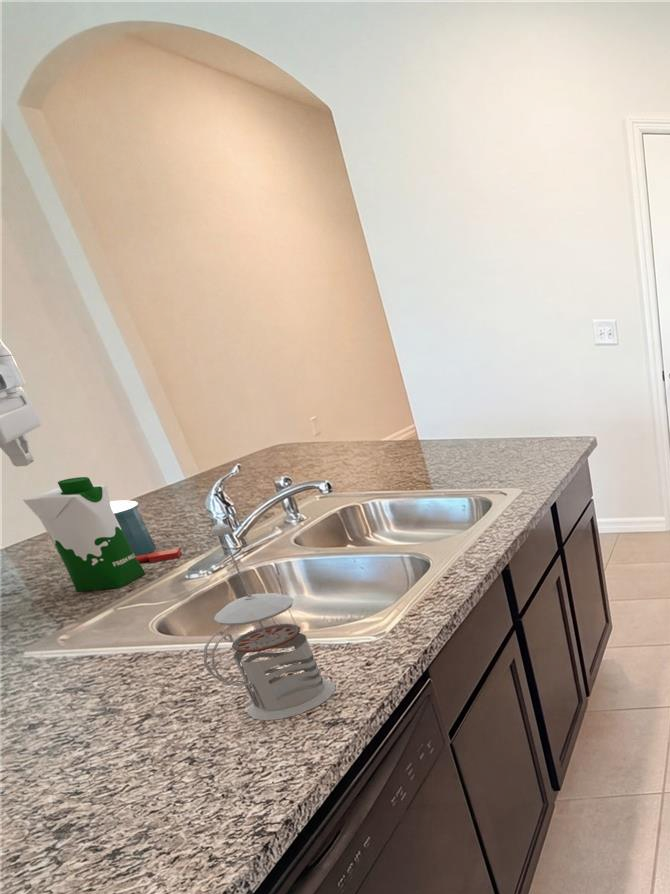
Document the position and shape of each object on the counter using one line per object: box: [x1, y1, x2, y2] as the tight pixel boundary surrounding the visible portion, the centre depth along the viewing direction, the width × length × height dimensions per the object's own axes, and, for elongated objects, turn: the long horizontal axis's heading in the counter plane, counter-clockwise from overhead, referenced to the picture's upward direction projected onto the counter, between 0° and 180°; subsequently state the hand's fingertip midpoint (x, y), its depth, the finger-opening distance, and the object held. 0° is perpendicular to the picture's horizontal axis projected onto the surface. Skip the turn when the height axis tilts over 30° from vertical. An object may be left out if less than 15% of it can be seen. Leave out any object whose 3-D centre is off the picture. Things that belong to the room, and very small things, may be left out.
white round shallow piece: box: [109, 500, 140, 516], centre depth 133 cm, size 14×14×5 cm
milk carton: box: [22, 476, 146, 592], centre depth 121 cm, size 9×9×20 cm
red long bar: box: [136, 547, 182, 564], centre depth 133 cm, size 16×3×1 cm, turn 125°
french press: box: [202, 523, 336, 722], centre depth 82 cm, size 10×12×25 cm
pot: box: [115, 508, 156, 556], centre depth 136 cm, size 13×18×10 cm
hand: (24, 464), depth 107 cm, fingers closed
